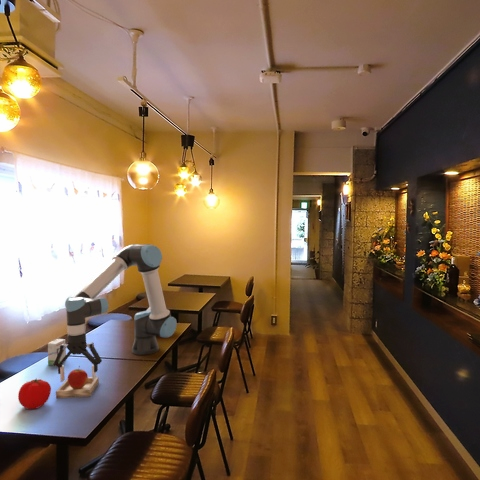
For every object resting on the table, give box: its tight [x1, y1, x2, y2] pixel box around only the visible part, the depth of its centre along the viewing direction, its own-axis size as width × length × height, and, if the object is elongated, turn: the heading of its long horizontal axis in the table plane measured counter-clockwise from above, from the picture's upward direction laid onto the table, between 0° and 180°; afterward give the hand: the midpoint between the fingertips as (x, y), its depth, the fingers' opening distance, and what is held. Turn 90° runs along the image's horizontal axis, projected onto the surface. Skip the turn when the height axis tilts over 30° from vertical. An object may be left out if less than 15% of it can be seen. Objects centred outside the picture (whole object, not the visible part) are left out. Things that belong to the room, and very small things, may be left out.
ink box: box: [47, 338, 67, 366], centre depth 206 cm, size 9×5×12 cm, turn 168°
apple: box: [67, 365, 89, 389], centre depth 171 cm, size 8×8×10 cm
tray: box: [55, 376, 100, 399], centre depth 171 cm, size 14×14×3 cm
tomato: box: [18, 378, 52, 410], centre depth 157 cm, size 12×12×11 cm
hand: (78, 379), depth 171 cm, fingers open, 13 cm apart
